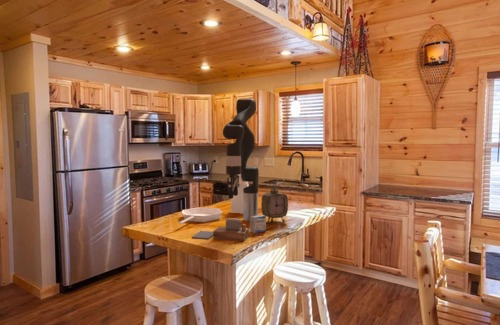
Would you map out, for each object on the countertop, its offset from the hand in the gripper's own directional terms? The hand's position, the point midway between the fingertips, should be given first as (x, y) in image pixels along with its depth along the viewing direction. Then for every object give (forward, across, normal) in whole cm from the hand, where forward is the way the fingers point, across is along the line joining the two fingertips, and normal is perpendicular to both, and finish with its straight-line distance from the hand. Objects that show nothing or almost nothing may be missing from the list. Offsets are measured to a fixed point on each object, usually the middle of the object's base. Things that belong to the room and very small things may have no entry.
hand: (233, 196), depth 169 cm
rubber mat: (+21, 0, -16) cm, 26 cm away
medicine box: (+21, -14, +10) cm, 27 cm away
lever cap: (+17, 0, 0) cm, 17 cm away
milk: (+21, -61, -12) cm, 66 cm away
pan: (+21, -30, -32) cm, 49 cm away
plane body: (+21, 0, -1) cm, 21 cm away
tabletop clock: (+21, -38, +15) cm, 46 cm away
